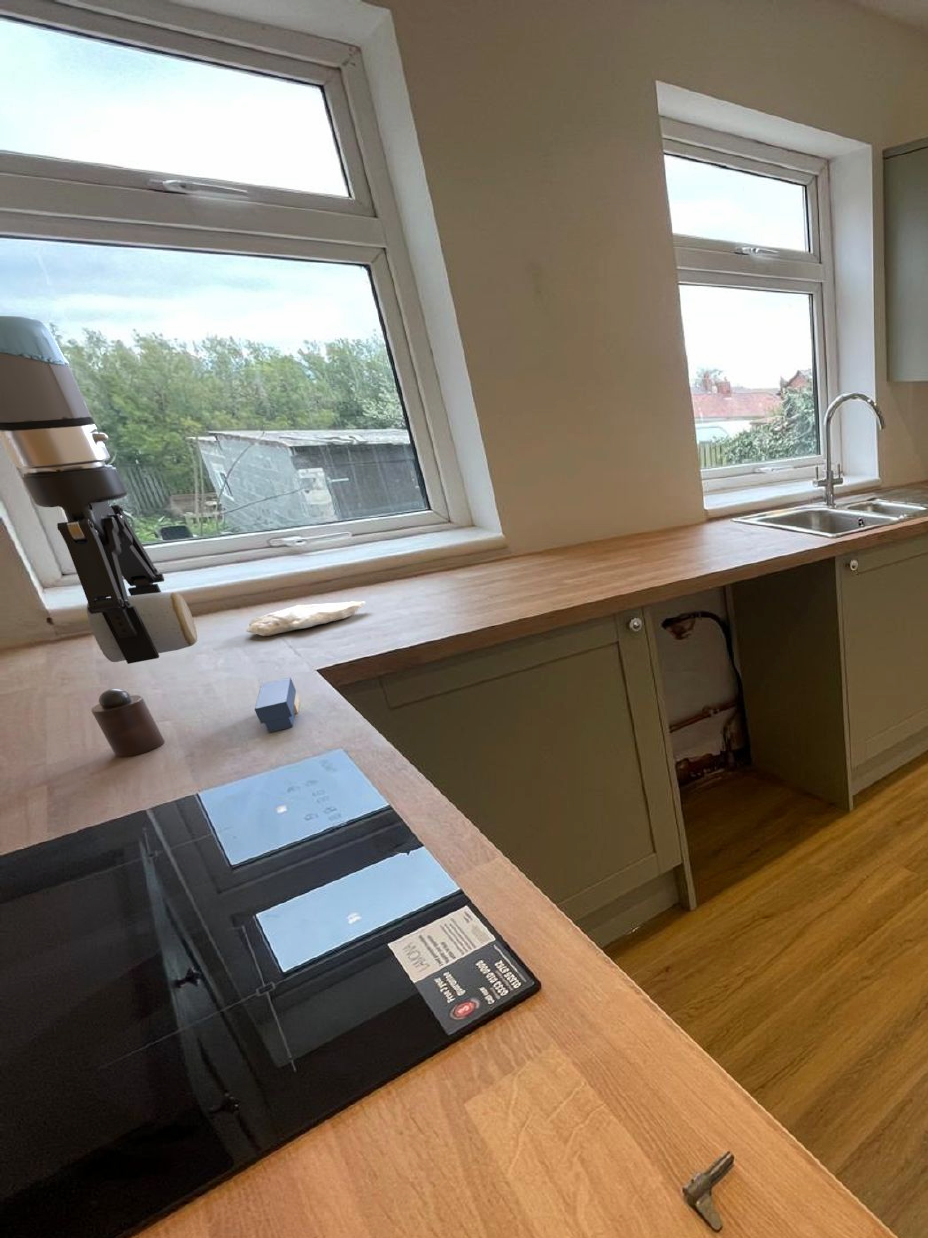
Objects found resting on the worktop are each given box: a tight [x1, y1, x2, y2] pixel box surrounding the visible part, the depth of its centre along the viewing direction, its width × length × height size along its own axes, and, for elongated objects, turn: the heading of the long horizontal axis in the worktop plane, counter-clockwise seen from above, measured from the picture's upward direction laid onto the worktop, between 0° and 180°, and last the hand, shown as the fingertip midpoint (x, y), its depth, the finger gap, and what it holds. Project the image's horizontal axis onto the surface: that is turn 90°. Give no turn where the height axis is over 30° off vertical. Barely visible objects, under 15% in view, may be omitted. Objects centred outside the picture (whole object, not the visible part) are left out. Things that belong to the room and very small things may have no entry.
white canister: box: [86, 591, 198, 663], centre depth 89 cm, size 11×8×8 cm
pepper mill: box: [90, 688, 165, 758], centre depth 98 cm, size 5×5×9 cm
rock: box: [246, 600, 366, 637], centre depth 146 cm, size 4×13×20 cm
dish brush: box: [254, 677, 301, 734], centre depth 106 cm, size 11×4×4 cm, turn 35°
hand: (155, 646), depth 90 cm, fingers closed on white canister, 11 cm apart
